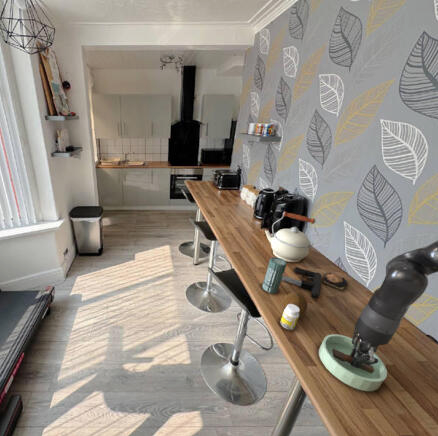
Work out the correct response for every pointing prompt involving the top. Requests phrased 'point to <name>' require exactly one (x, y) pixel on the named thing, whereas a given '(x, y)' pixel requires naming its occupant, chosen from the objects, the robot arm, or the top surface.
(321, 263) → the top surface
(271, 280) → the can
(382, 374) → the bowl
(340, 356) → the brown bar
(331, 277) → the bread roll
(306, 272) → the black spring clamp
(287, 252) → the kettle
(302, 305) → the potato
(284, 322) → the supplement bottle
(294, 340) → the top surface
